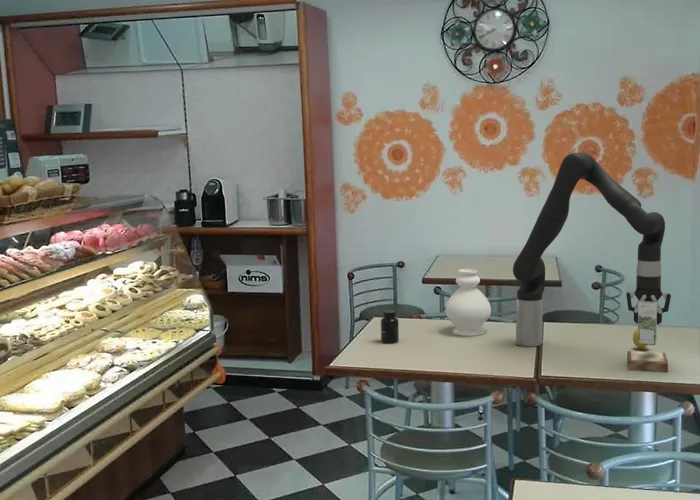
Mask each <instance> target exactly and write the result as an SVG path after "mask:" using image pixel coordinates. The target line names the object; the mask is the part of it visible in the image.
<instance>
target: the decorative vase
mask: <svg viewBox="0 0 700 500" xmlns="http://www.w3.org/2000/svg"><path fill="white" fill-rule="evenodd" d="M457 273H458V274H459V275H458V276H457V277H456V278H455V283H456V284H457V285H458V286H459V287H458V288H457V289H456V290H455V291H454V292H453V293H452V295H451V296H450V298H449V299H448V301H447V302H446V304H445V315H446V317H447V318H448V320H449V321H450V322H451V323H452V325H454V327H455V328H453V329H452V334H453V335H458V336H463V337H476V336H482V335H483V334H484V333H485V329H483V328H482V327H483V325H484V324H485V323H486V322H487V320H488V319H489V318H490V316H491V313H492V308H491V304H490V302H489V300H488V298H487V296H485V294H483V293H482V291H481V290H479V288H477V286H478V285H479V284H480V282H481V279H480V277H479V276H478V275H477V274H478V269H475V268H461V269H460V268H459V269H458V270H457Z"/></svg>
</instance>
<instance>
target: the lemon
mask: <svg viewBox="0 0 700 500" xmlns="http://www.w3.org/2000/svg"><path fill="white" fill-rule="evenodd" d="M632 341H633V344H634V345H635V347H637V348H638V349H639V350H643V349H644V348H646V347H648V345H644V344H638V328H637V329H636V330H634V332H633V335H632Z"/></svg>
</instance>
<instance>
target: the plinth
mask: <svg viewBox="0 0 700 500" xmlns="http://www.w3.org/2000/svg"><path fill="white" fill-rule="evenodd" d="M626 355H627V358H626V360H627V370H629V371H642V372H659V373H668V372H669V371H668V370H669V362H668V358H667V356H666V353H665V352H654V351H633V350H627V353H626Z"/></svg>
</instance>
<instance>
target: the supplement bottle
mask: <svg viewBox="0 0 700 500" xmlns="http://www.w3.org/2000/svg"><path fill="white" fill-rule="evenodd" d="M382 313H383V315H382V318H381V320H380V341H381V342H382V343H383V344H389V345H391V344H397V343H398V342H399V338H400V337H399V336H400V335H399V334H400V333H399V329H400V328H399V327H400V326H399V319H398V318H397V314H396V313H397V312H396V310H394V309H393V310H392V309H386V310H384V311H383V312H382Z"/></svg>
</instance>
